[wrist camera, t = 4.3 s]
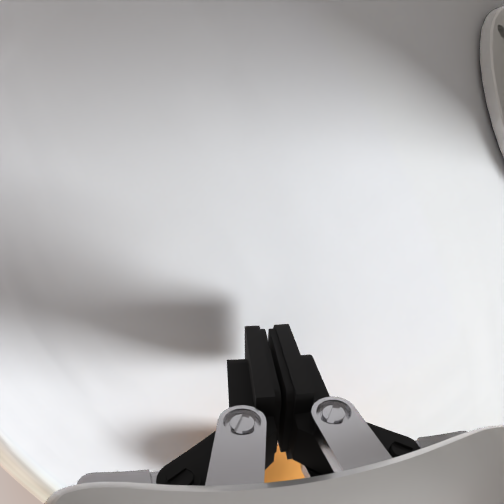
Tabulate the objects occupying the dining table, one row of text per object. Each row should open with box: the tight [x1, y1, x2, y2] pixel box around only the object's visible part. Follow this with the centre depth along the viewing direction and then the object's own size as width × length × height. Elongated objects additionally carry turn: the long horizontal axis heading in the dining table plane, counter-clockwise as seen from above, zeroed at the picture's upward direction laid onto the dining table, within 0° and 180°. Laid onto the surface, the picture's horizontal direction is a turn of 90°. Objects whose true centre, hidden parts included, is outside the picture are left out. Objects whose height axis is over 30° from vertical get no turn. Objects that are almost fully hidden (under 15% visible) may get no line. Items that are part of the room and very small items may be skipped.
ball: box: [264, 445, 305, 483], centre depth 13 cm, size 6×6×6 cm
